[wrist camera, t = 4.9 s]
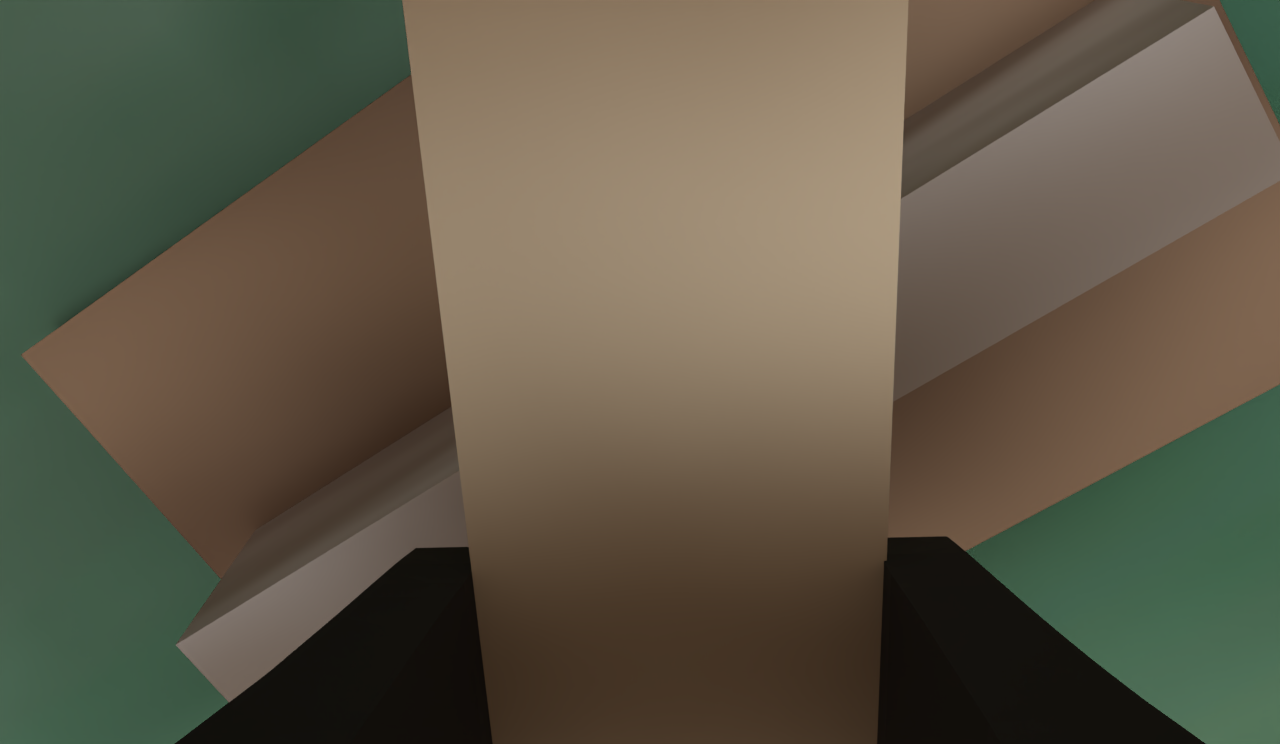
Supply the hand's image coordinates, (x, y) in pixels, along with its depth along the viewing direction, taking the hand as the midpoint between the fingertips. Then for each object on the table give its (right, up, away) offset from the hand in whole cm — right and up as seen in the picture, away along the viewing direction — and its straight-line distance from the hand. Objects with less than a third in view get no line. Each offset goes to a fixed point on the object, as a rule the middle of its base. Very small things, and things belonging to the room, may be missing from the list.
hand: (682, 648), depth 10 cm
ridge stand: (0, +3, +8) cm, 8 cm away
